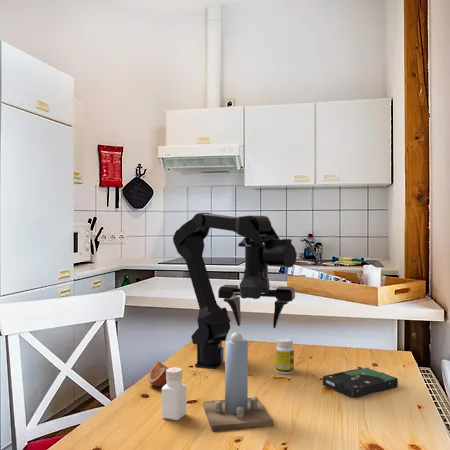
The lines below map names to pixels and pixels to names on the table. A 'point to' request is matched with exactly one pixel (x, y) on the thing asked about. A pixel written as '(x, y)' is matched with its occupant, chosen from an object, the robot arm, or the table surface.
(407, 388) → the table surface
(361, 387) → the disk drive
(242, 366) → the pepper mill
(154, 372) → the fruit slice
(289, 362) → the supplement bottle
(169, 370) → the white plastic bottle
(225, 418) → the brown pegged base plate
